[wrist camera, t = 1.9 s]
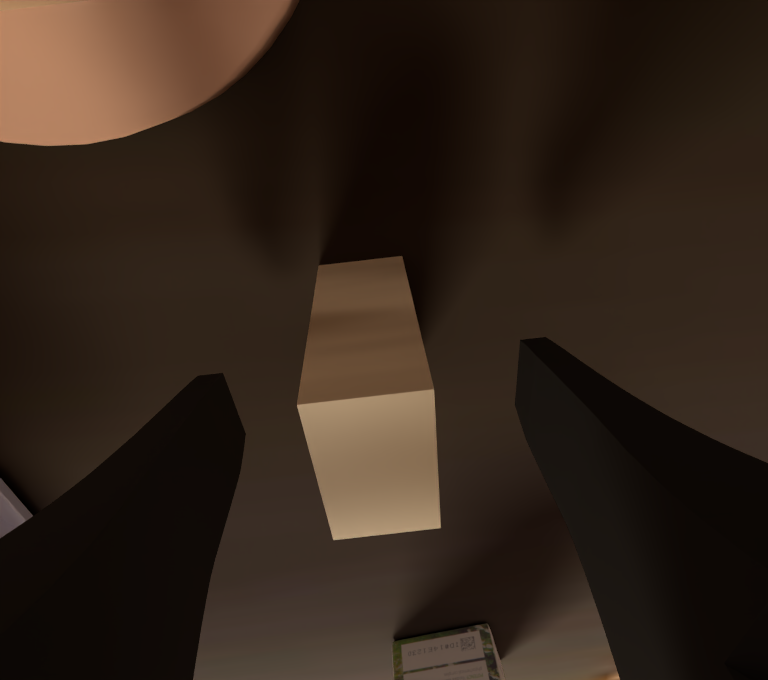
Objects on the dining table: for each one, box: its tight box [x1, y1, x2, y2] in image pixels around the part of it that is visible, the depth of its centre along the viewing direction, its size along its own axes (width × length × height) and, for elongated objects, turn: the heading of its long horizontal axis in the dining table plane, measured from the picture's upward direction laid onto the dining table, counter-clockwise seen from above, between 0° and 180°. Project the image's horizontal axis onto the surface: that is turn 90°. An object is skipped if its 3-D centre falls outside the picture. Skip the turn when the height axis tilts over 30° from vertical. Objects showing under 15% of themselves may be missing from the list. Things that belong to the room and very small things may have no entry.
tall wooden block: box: [297, 256, 441, 540], centre depth 11 cm, size 4×2×6 cm, turn 6°
